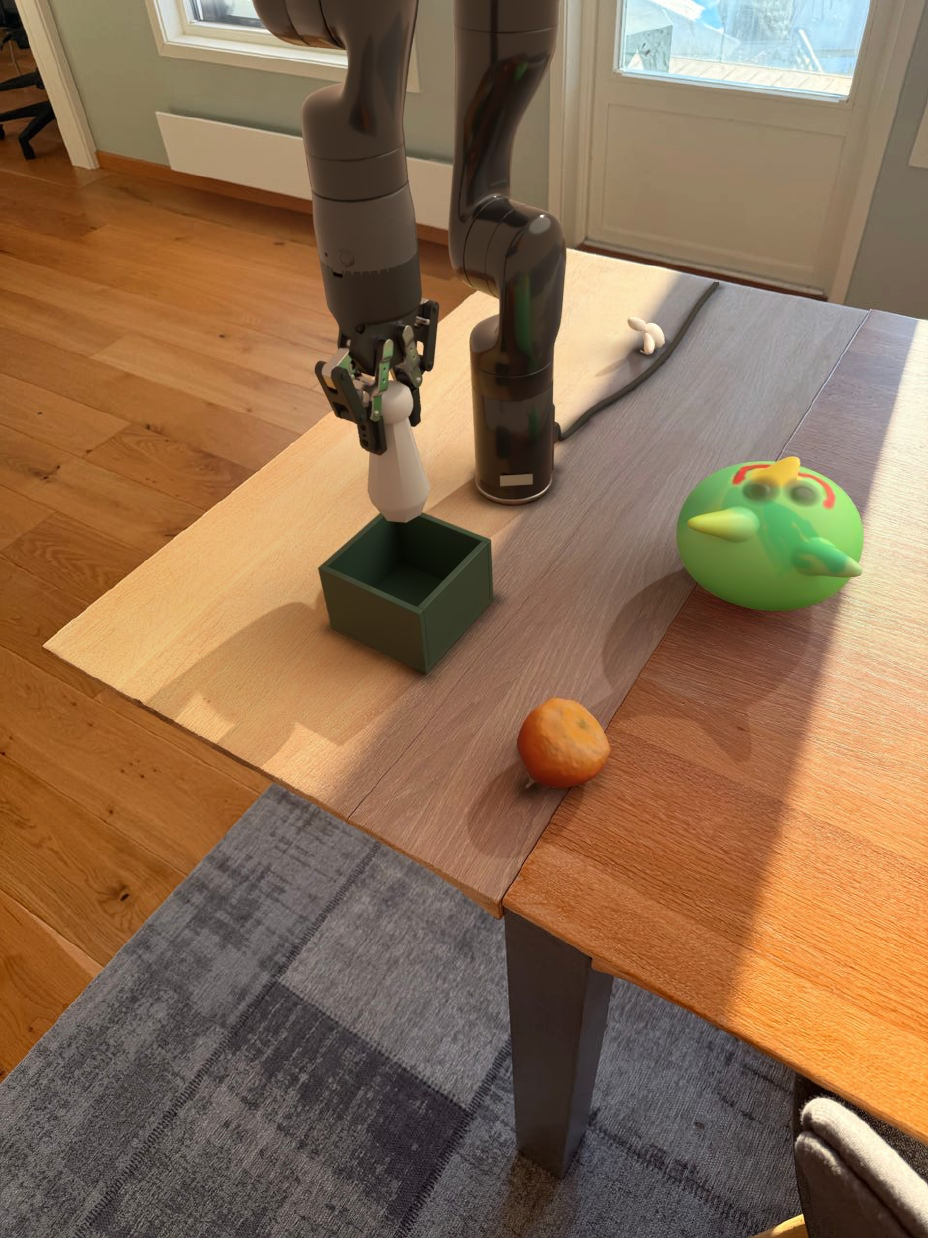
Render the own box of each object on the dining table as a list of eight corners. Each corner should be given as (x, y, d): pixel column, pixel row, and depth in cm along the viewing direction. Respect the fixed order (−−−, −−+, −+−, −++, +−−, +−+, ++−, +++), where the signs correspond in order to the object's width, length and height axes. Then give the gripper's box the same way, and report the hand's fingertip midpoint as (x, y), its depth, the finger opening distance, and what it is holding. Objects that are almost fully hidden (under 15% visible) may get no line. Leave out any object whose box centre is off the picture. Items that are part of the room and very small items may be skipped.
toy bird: (847, 553, 99) (885, 441, 89) (839, 663, 88) (880, 550, 78) (682, 525, 104) (699, 415, 94) (654, 626, 93) (670, 515, 83)
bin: (401, 560, 102) (393, 500, 96) (493, 600, 97) (491, 539, 91) (331, 628, 95) (317, 567, 89) (426, 675, 90) (418, 614, 84)
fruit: (491, 728, 83) (537, 675, 78) (563, 747, 86) (611, 697, 81) (501, 803, 77) (551, 750, 73) (578, 821, 81) (630, 771, 76)
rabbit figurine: (679, 347, 132) (657, 345, 126) (658, 364, 134) (636, 363, 128) (657, 314, 133) (635, 310, 127) (637, 332, 135) (614, 329, 129)
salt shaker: (423, 531, 84) (410, 410, 74) (364, 526, 85) (343, 405, 75) (437, 492, 88) (426, 372, 78) (380, 488, 89) (363, 369, 79)
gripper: (386, 202, 74) (406, 388, 86) (266, 272, 66) (307, 466, 78) (462, 219, 70) (472, 409, 83) (346, 295, 62) (376, 493, 75)
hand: (392, 436), depth 80 cm, fingers closed on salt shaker, 4 cm apart
